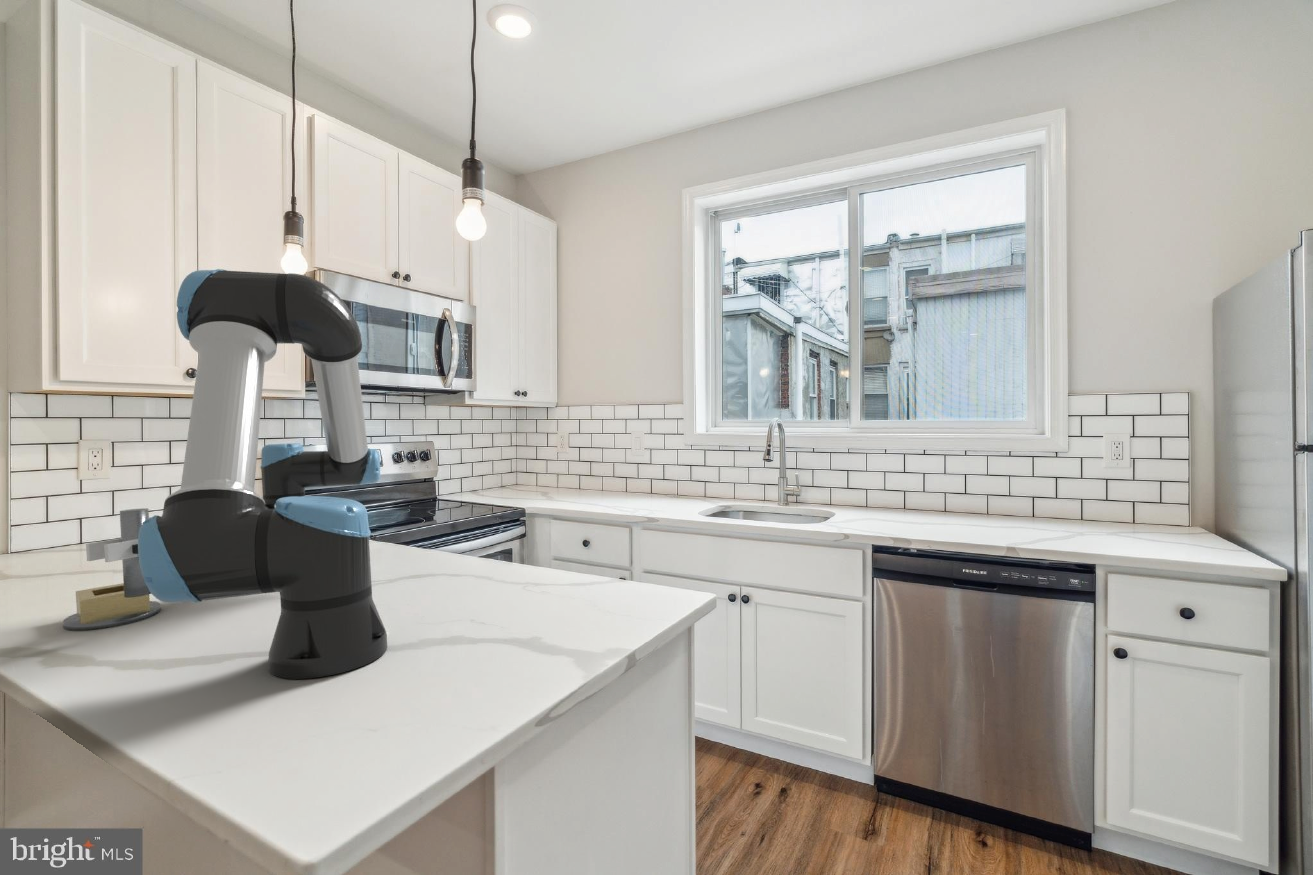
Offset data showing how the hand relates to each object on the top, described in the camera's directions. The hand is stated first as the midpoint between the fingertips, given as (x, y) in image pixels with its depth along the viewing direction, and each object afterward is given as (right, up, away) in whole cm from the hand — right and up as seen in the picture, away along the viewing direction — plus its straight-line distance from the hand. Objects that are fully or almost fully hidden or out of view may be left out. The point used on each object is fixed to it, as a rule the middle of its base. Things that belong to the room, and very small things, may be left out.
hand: (97, 552), depth 96 cm
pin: (+2, -8, +5) cm, 10 cm away
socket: (-9, -14, +14) cm, 22 cm away
